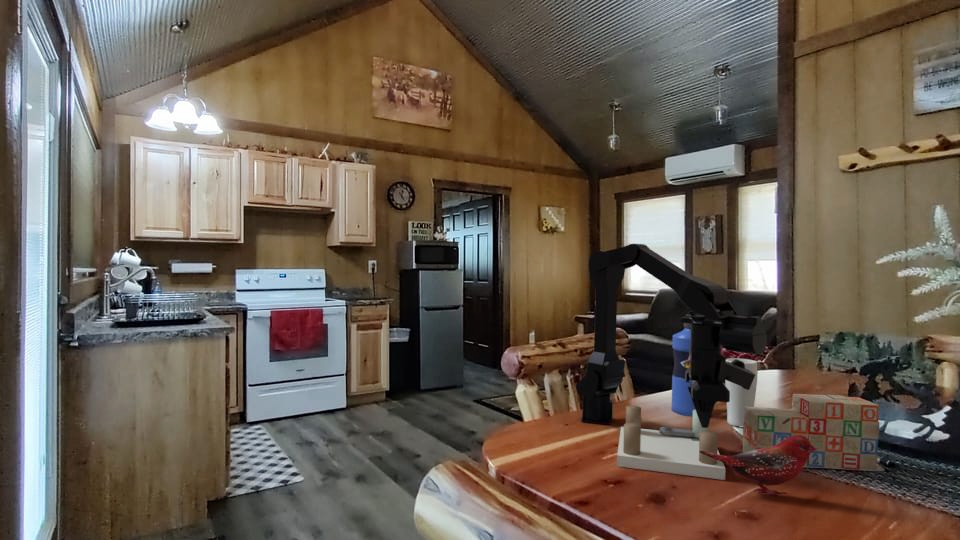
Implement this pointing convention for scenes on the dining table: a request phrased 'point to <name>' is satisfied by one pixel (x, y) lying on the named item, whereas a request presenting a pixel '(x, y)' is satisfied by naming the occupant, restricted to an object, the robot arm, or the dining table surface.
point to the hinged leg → (683, 432)
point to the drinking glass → (741, 395)
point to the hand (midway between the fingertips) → (704, 427)
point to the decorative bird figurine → (770, 462)
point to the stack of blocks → (820, 429)
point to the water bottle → (681, 373)
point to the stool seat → (667, 450)
